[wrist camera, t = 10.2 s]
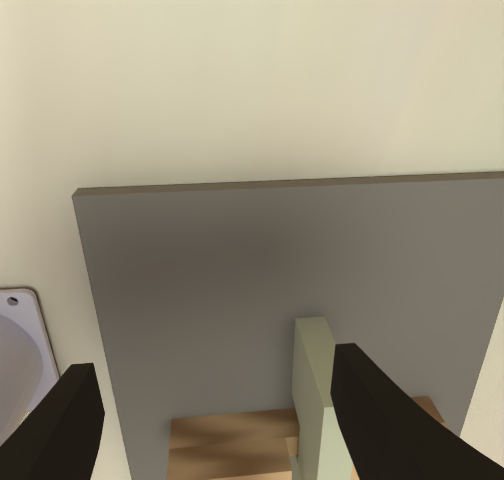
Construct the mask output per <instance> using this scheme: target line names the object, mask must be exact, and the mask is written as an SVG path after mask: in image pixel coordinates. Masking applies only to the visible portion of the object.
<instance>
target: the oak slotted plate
mask: <svg viewBox="0 0 504 480" xmlns="http://www.w3.org/2000/svg"><path fill="white" fill-rule="evenodd" d="M410 398H411V399H413V400H414V401H415V402H416V403H417V404H418V405H419V406H420V407H422V408H423V409H424V410H425V411H426V412H427V413H429V414H430V415H431V416H432V417H433V418H434V419H436V420H437V421H438V422H439V423H441V424H442V425H443V426H444V427H446V428H447V429H448V430H450V429H449V428H448V426H447V425H446V423H445V421H444V420H443V418H442V416H441V415H440V413H439V412H438V410H437V408H436V407H435V405H434V404H433V402H432V400H431V399H430V397H429V396H421V397H410ZM299 433H300V425H299V421H298V417H297V413H296V409H295V408H288V409H277V410H266V411H255V412H244V413H233V414H222V415H211V416H200V417H188V418H177V419H171V431H170V443H169V455H168V468H167V480H292V468H291V463H290V458H289V456H294V455H298V449H299ZM350 480H359V477H358V475H357V472H356V470H355V467H354V465H353V467H352V473H351V479H350Z"/></svg>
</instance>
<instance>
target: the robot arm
mask: <svg viewBox="0 0 504 480" xmlns="http://www.w3.org/2000/svg"><path fill="white" fill-rule="evenodd" d="M10 297H14V298H16V299H17V300H18V301H13V300H12V299H11V298H10ZM330 395H331V399H332V403H333V407H334V411H335V414H336V418H337V422H338V426H339V428H340V431H341V434H342V436H343V439H344V441H345V444H346V447H347V449H348V452H349V454H350V457H351V459H352V462H353V465H354V467H355V470H356V472H357V475H358V477H359V480H504V468H503V467H502V466H500V465H499V464H497V463H496V462H494V461H493V460H491V459H489V458H488V457H486V456H485V455H483V454H482V453H480V452H479V451H477V450H476V449H474V448H473V447H472V446H470V445H469V444H467V443H466V442H465V441H463V440H462V439H461V438H459V437H458V436H457V435H455V434H454V433H453V432H451V431H450V430H448V429H447V428H446V427H444V426H443V425H442V424H441V423H439V422H438V421H437V420H436V419H434V418H433V417H432V416H431V415H430V414H429V413H427V412H426V411H425V410H424V409H423V408H422V407H420V406H419V405H418V404H417V403H416V402H415V401H414V400H413V399H411V398H410V397H409V396H408V395H407V394H406V393H405V392H404V391H403V390H402V389H401V388H400V387H399V386H398V385H396V384H395V383H394V382H393V381H392V380H391V379H390V378H389V377H388V376H387V375H386V374H385V373H384V372H383V371H382V370H381V369H380V368H379V367H378V366H377V365H376V364H375V363H374V362H373V361H372V360H371V359H370V358H369V357H368V356H367V355H366V353H365V352H364V351H363V350H362V349H361V348H360V347H359V346H358V345H357V344H356V343H345V344H335V352H334V362H333V371H332V381H331V390H330ZM30 410H33V411H32V412H31V413H30V414H29V415H28V417H27V418H26V419H25V420H24V421H23V422H22V423H21V425H20V422H21V420H22V418H23V416H24V414H25V412H26V411H30ZM104 416H105V411H104V407H103V403H102V398H101V394H100V390H99V385H98V381H97V377H96V372H95V368H94V364H93V363H84V364H72V365H71V366H70V367H69V368H68V369H67V370H66V371H65V373H64V374H63V375H62V376H61V377H60V378H59V375H58V371H57V368H56V364H55V361H54V357H53V354H52V350H51V347H50V343H49V340H48V336H47V333H46V329H45V325H44V322H43V318H42V315H41V311H40V308H39V304H38V301H37V297H36V295H35V293H34V292H33V291H31V290H29V289H7V290H0V480H90V479H91V475H92V472H93V468H94V465H95V461H96V458H97V454H98V450H99V446H100V440H101V435H102V428H103V422H104ZM19 425H20V426H19Z"/></svg>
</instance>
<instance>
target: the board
mask: <svg viewBox="0 0 504 480" xmlns="http://www.w3.org/2000/svg"><path fill="white" fill-rule="evenodd" d="M72 200H73V204H74V209H75V214H76V219H77V223H78V228H79V233H80V237H81V242H82V247H83V252H84V256H85V261H86V266H87V271H88V275H89V280H90V285H91V290H92V294H93V299H94V304H95V308H96V313H97V318H98V323H99V327H100V332H101V337H102V342H103V346H104V351H105V356H106V360H107V365H108V370H109V375H110V379H111V384H112V389H113V394H114V398H115V403H116V408H117V412H118V417H119V422H120V427H121V431H122V436H123V441H124V446H125V450H126V455H127V460H128V464H129V469H130V474H131V479H132V480H167V468H168V455H169V443H170V431H171V419H177V418H188V417H200V416H211V415H222V414H233V413H244V412H255V411H266V410H277V409H288V408H295V405H294V401H293V397H292V375H293V355H294V336H295V318H307V317H322V316H325V319H326V321H327V323H328V326H329V328H330V330H331V333H332V335H333V337H334V340H335V342H336V344H345V343H356V344H357V345H358V346H359V347H360V348H361V349H362V350H363V351H364V352H365V353H366V355H367V356H368V357H369V358H370V359H371V360H372V361H373V362H374V363H375V364H376V365H377V366H378V367H379V368H380V369H381V370H382V371H383V372H384V373H385V374H386V375H387V376H388V377H389V378H390V379H391V380H392V381H393V382H394V383H395V384H396V385H398V386H399V387H400V388H401V389H402V390H403V391H404V392H405V393H406V394H407V395H408V396H409V397H421V396H429V397H430V399H431V400H432V402H433V404H434V405H435V407H436V408H437V410H438V412H439V413H440V415H441V416H442V418H443V420H444V421H445V423H446V425H447V426H448V428H449V429H450V431H451V432H453V433H454V434H455V435H457V436H458V437H460V434H461V430H462V427H463V424H464V421H465V418H466V415H467V411H468V408H469V405H470V402H471V399H472V396H473V392H474V389H475V386H476V383H477V380H478V376H479V373H480V370H481V367H482V364H483V361H484V357H485V354H486V351H487V348H488V345H489V342H490V338H491V335H492V332H493V329H494V326H495V323H496V319H497V316H498V313H499V310H500V307H501V304H502V300H503V297H504V172H483V173H458V174H432V175H407V176H382V177H357V178H331V179H306V180H281V181H255V182H230V183H205V184H180V185H154V186H129V187H104V188H78V189H77V190H76V191H75V193H74V194H73V195H72Z"/></svg>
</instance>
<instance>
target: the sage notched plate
mask: <svg viewBox="0 0 504 480" xmlns="http://www.w3.org/2000/svg"><path fill="white" fill-rule="evenodd" d="M335 344H336V342H335V340H334V337H333V335H332V333H331V330H330V328H329V326H328V323H327V321H326V319H325V316H322V317H307V318H295V336H294V355H293V375H292V397H293V401H294V405H295V409H296V413H297V417H298V421H299V425H300V433H299V449H298V455H294V456H289V458H290V463H291V468H292V480H350V479H351V473H352V467H353V462H352V459H351V457H350V454H349V452H348V449H347V447H346V444H345V441H344V439H343V436H342V434H341V431H340V428H339V426H338V422H337V418H336V414H335V411H334V407H333V403H332V399H331V395H330V390H331V381H332V371H333V362H334V352H335Z"/></svg>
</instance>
